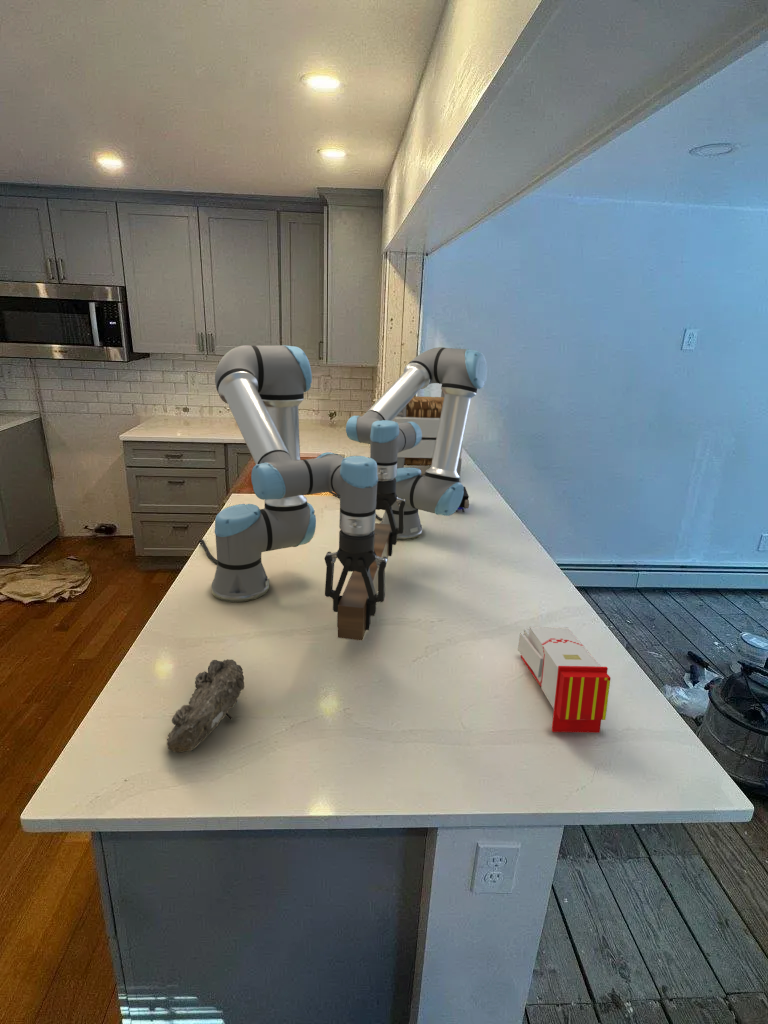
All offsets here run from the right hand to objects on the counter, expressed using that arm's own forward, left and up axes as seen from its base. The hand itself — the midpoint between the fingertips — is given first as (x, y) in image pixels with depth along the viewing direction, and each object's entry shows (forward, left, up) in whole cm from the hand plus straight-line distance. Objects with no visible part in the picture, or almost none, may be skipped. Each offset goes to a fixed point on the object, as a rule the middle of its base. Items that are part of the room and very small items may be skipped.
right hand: (379, 553), depth 165 cm
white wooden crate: (-74, +89, -8) cm, 116 cm away
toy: (+63, -4, -8) cm, 63 cm away
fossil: (+27, -64, -8) cm, 70 cm away
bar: (+13, -15, -1) cm, 20 cm away
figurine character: (-28, +66, -8) cm, 72 cm away
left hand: (+27, -30, 0) cm, 40 cm away
